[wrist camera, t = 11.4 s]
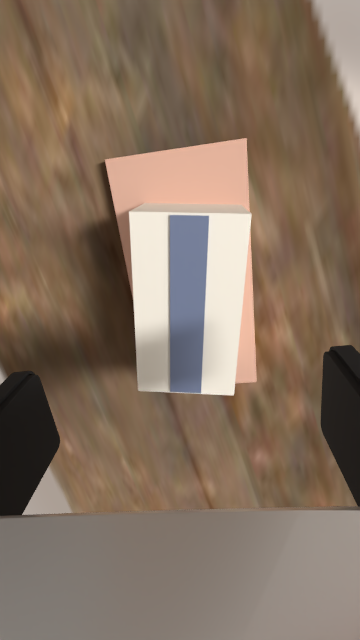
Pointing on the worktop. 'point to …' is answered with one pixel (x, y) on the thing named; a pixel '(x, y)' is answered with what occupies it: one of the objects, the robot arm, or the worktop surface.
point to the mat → (189, 188)
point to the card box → (188, 294)
